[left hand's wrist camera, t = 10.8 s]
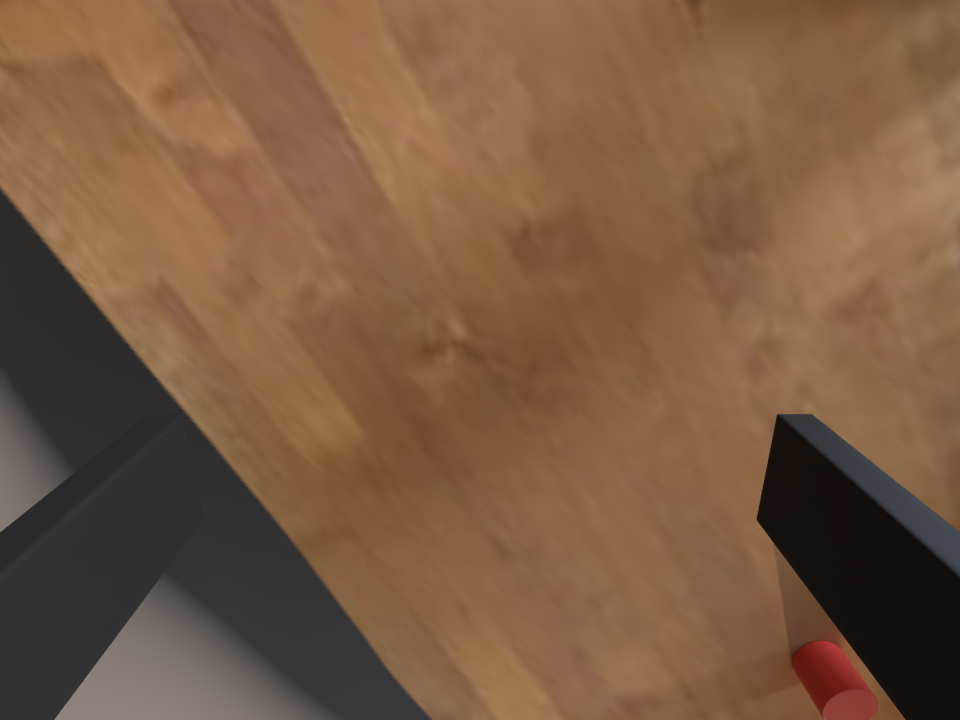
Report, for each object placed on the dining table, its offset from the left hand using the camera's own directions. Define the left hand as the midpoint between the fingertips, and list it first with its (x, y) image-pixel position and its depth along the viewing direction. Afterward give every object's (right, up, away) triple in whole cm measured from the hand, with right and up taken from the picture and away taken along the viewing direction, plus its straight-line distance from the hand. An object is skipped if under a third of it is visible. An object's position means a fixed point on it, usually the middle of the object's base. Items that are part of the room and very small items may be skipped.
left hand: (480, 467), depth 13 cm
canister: (+28, -23, +35) cm, 51 cm away
